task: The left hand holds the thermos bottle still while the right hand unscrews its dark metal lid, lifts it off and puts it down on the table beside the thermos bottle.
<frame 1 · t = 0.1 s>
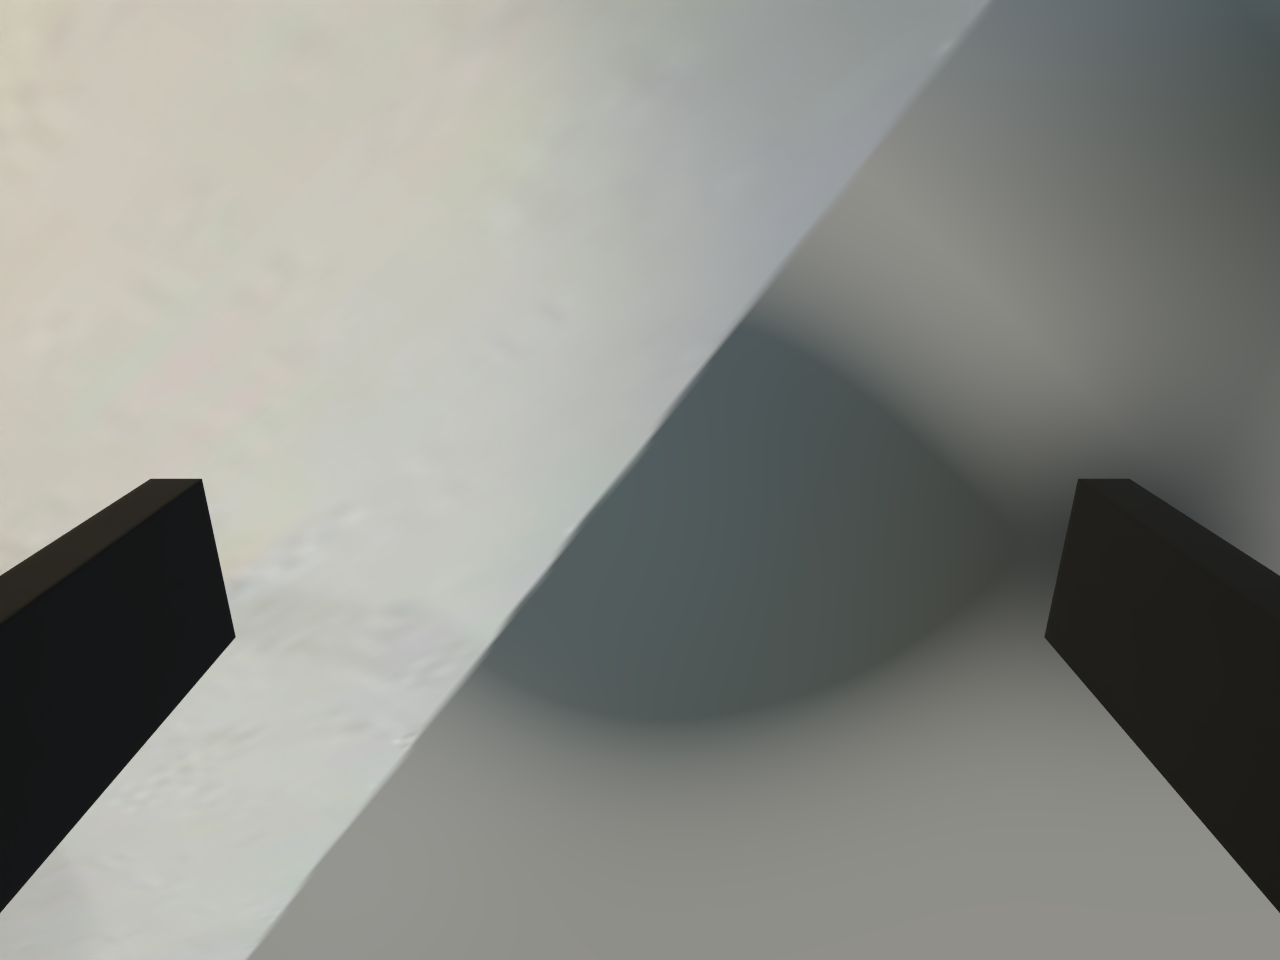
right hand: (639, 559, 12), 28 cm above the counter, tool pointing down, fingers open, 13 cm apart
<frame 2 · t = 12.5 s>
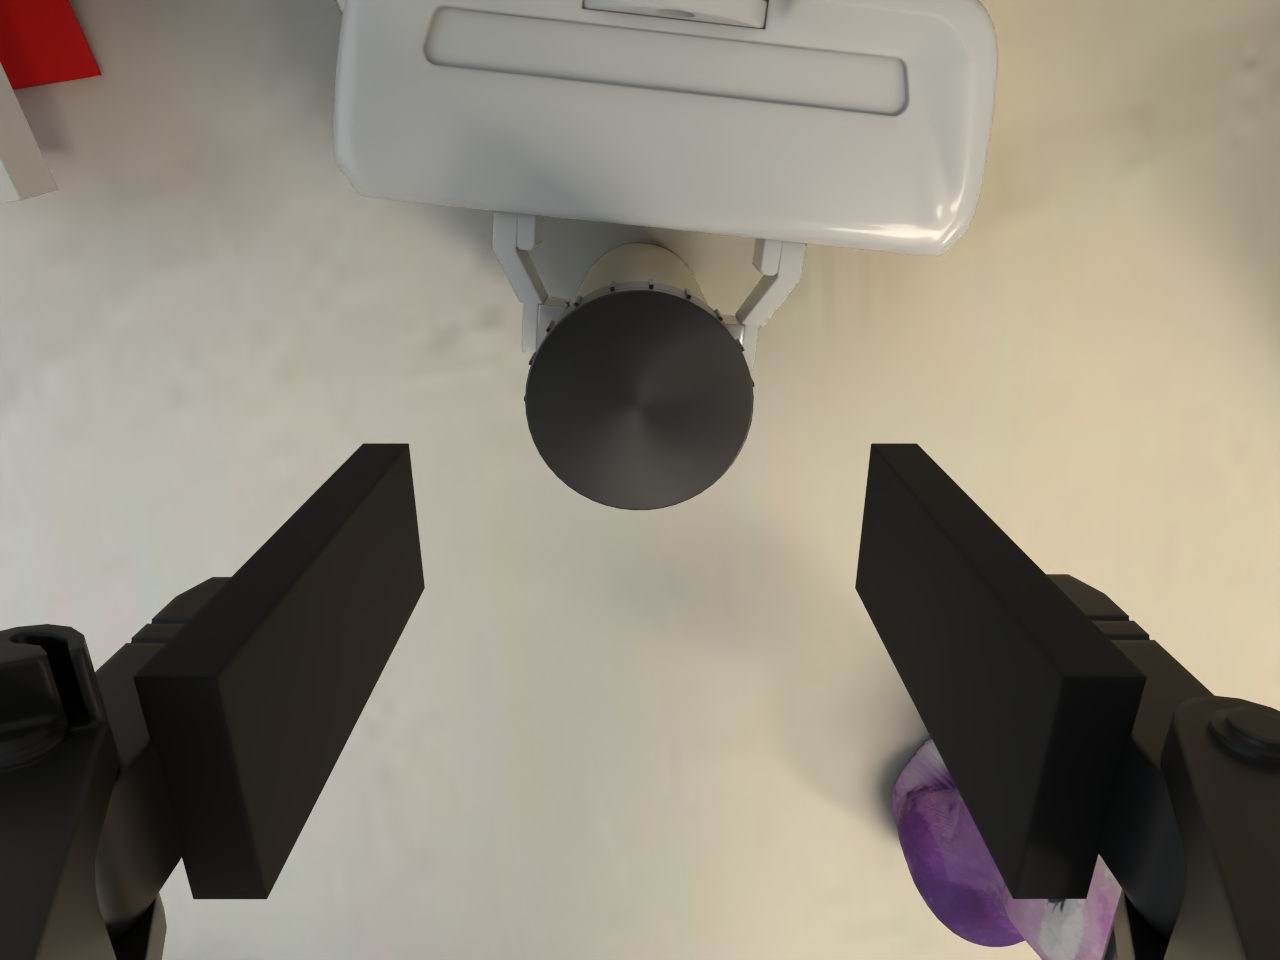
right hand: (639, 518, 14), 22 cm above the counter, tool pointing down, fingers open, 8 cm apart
left hand: (638, 360, 29), fingers closed on thermos bottle, 5 cm apart
thermos bottle: (639, 306, 34), on the counter, touching left hand
lid: (639, 402, 21), point 15 cm above the counter, screwed on, not yet turned
figurine: (961, 776, 43), on the counter
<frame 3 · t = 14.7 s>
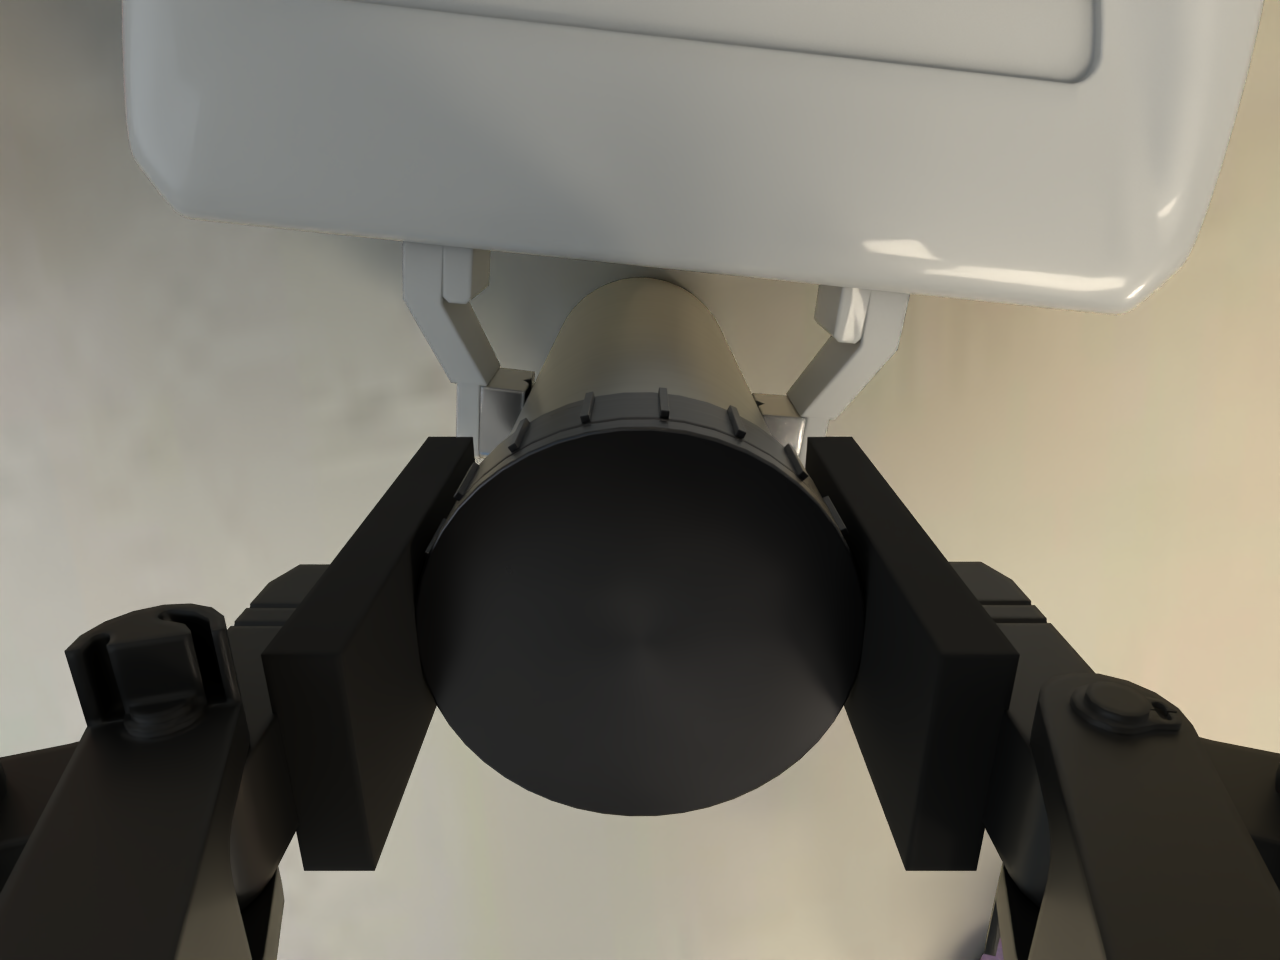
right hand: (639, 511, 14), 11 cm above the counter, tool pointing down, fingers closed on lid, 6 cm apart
left hand: (638, 466, 19), fingers closed on thermos bottle, 5 cm apart
thermos bottle: (640, 365, 24), on the counter, touching left hand
lid: (640, 627, 11), point 15 cm above the counter, screwed on, not yet turned, touching right hand
when the right hand's fingers open (0 cm above the counter, at t = 31.0 s): lid drops 3 cm, point 1 cm above the counter.
when the left hand's fingers open (6 cm above the counter, at t = 32.2 s): thermos bottle stays where it is, on the counter.
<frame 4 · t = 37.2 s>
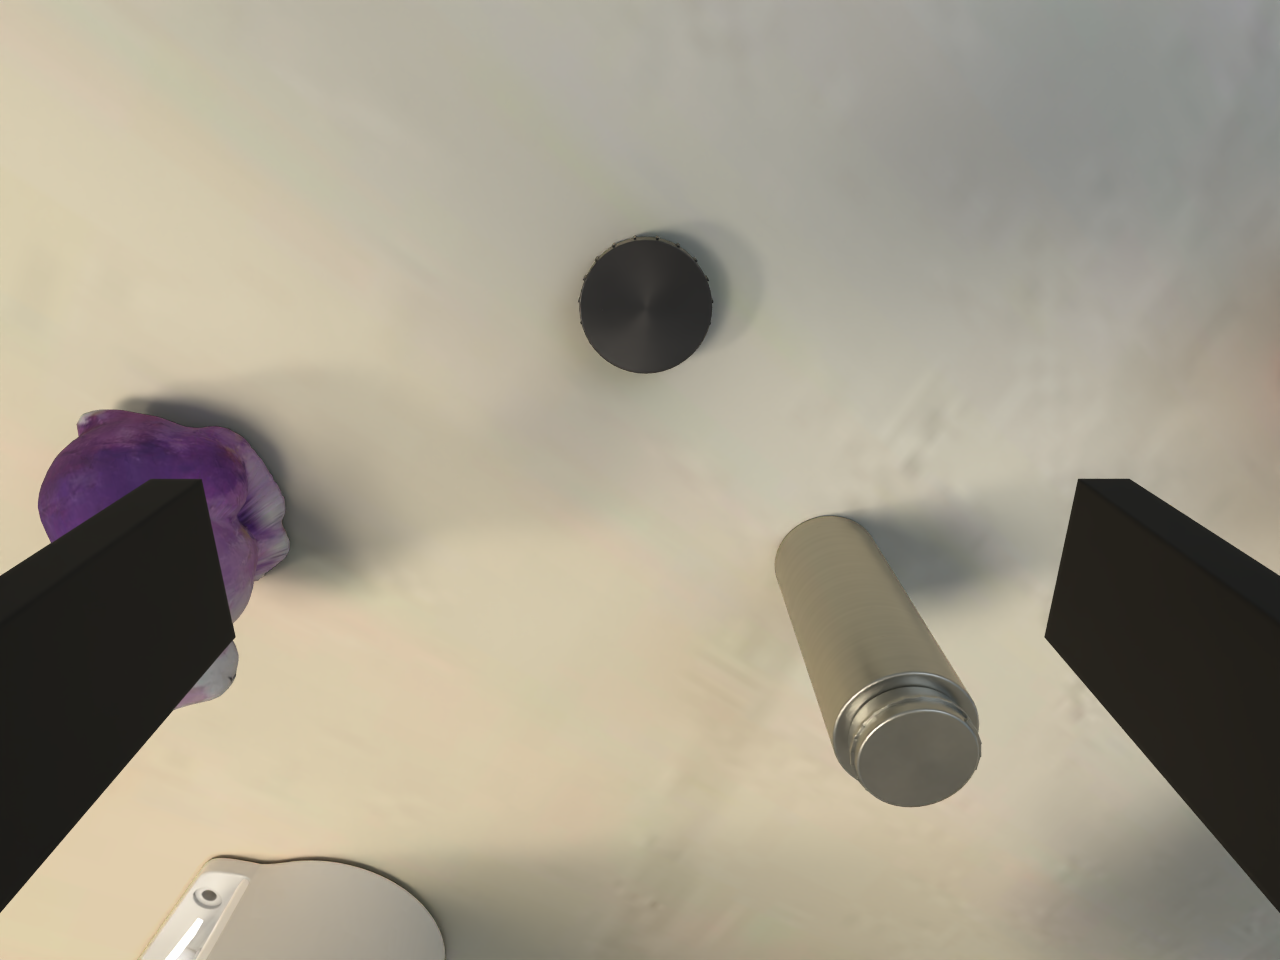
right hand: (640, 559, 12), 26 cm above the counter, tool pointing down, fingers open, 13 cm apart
thermos bottle: (825, 562, 41), on the counter
lid: (645, 307, 35), point 1 cm above the counter, off its thread
figurine: (217, 497, 40), on the counter
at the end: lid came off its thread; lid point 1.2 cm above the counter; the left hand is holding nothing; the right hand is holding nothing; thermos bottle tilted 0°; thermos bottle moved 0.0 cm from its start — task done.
